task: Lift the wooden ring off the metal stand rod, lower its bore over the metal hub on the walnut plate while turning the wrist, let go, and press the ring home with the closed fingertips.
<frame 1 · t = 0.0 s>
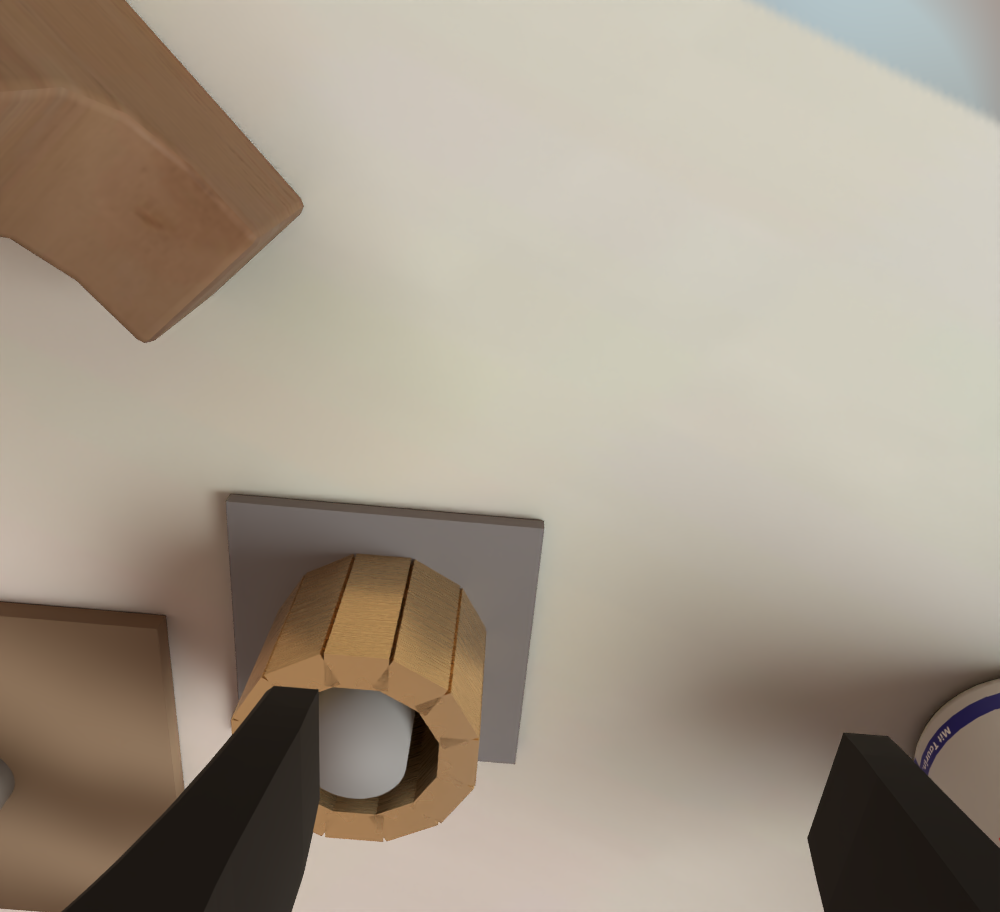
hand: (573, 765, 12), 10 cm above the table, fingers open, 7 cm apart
wooden block: (148, 130, 18), on the table
wooden ring: (381, 643, 23), resting on stand rod
stand rod: (383, 633, 23), on the table
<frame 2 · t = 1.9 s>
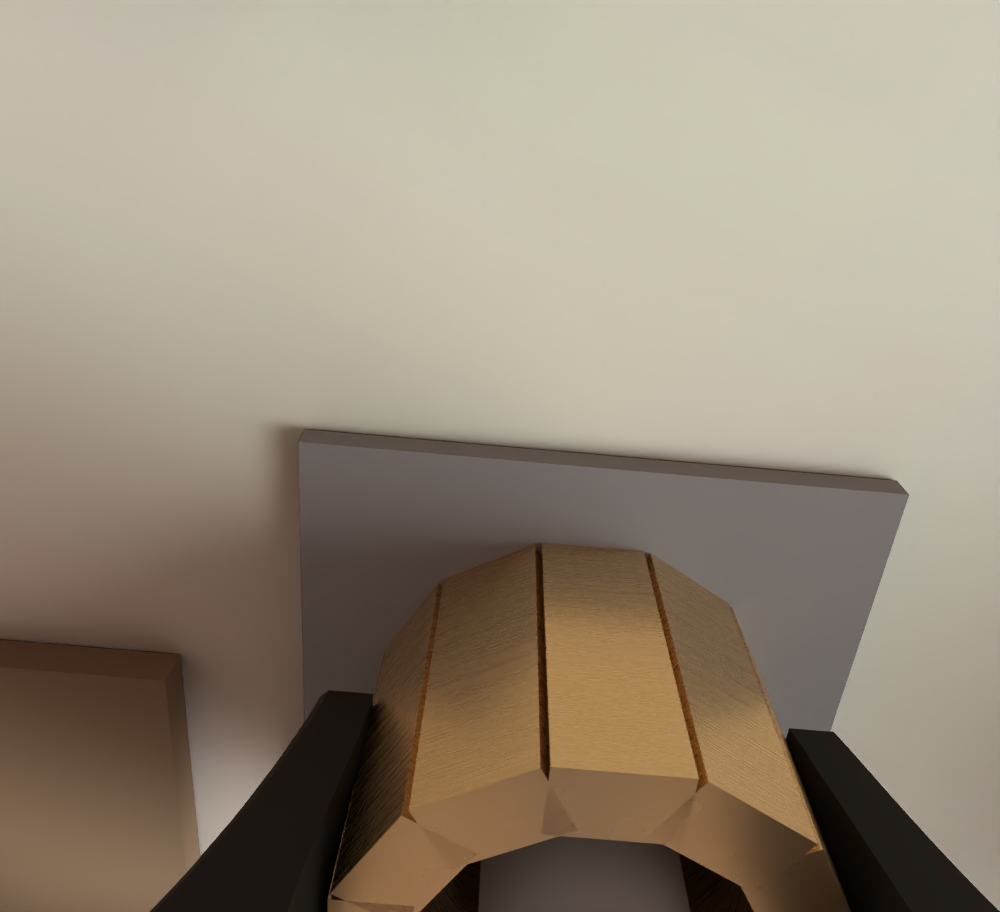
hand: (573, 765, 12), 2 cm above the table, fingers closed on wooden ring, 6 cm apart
wooden ring: (568, 704, 13), resting on stand rod, touching gripper
stand rod: (567, 686, 13), on the table
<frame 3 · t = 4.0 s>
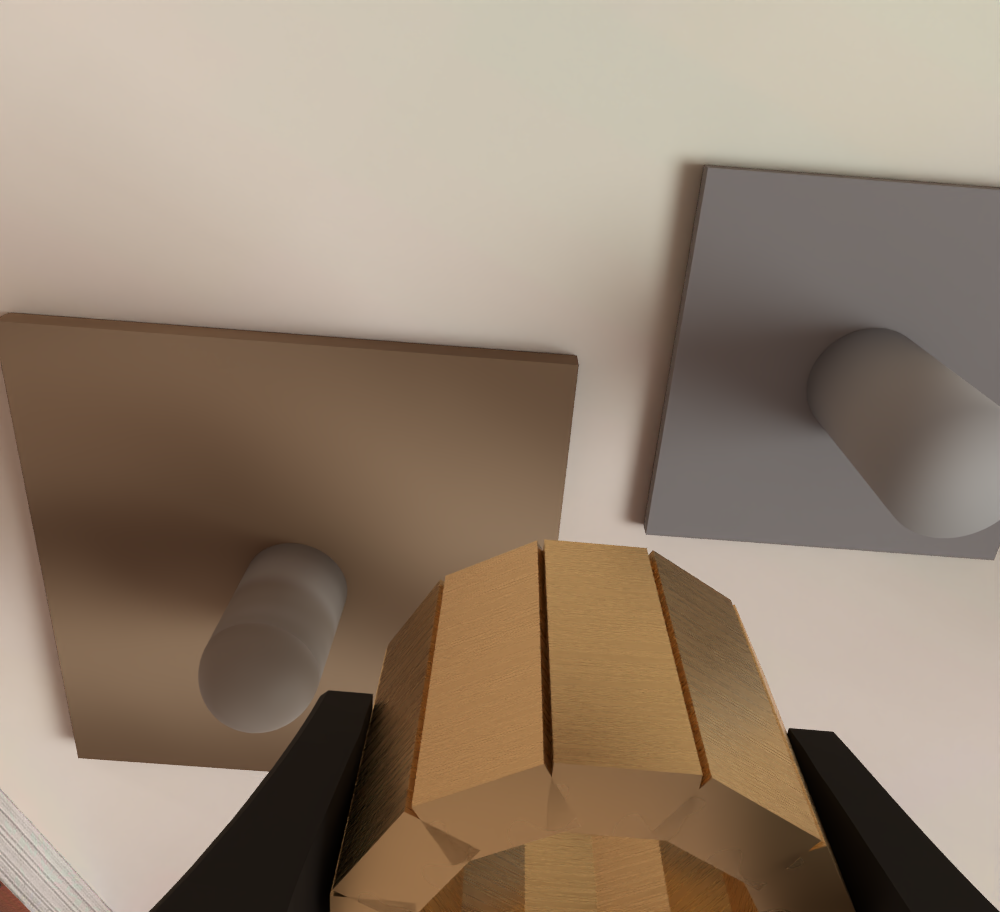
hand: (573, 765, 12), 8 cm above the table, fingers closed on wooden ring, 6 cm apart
wooden ring: (570, 702, 13), point 7 cm above the table, touching gripper
stand rod: (858, 376, 18), on the table
hub plate: (302, 572, 20), on the table
when the fingers open (3 cm above the table, at t = 6.2 s): wooden ring drops 2 cm, resting on hub plate.
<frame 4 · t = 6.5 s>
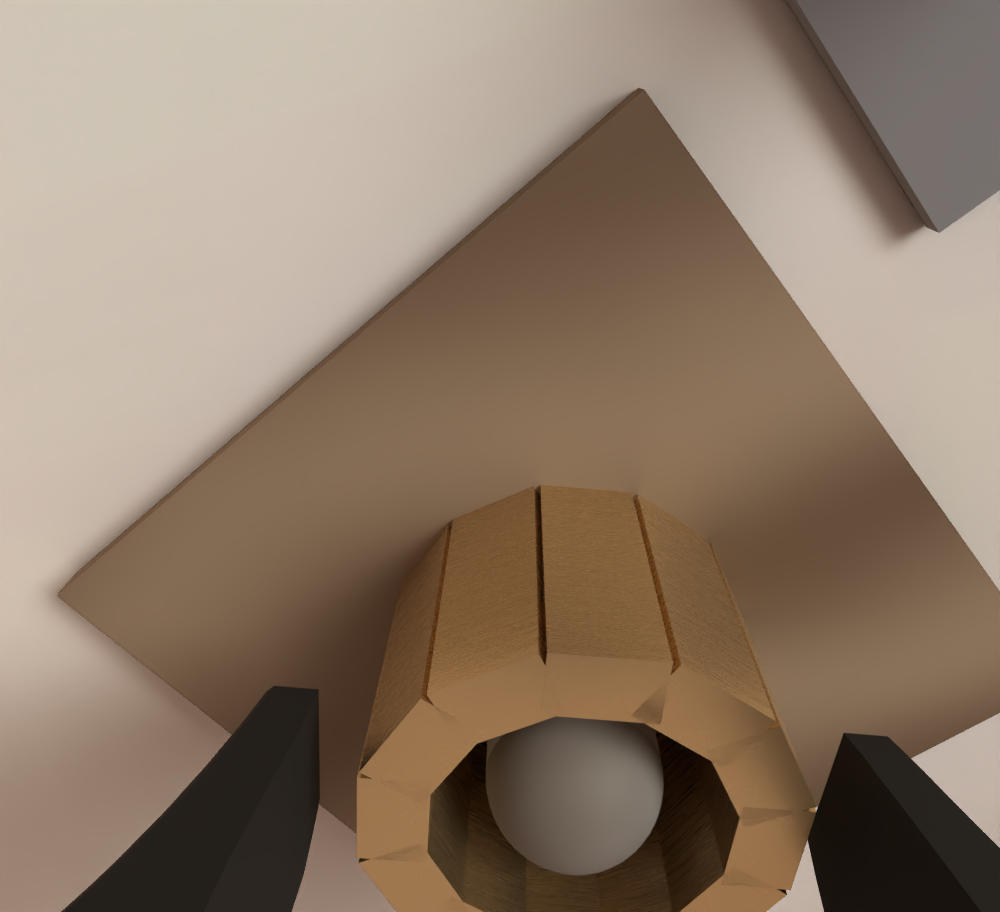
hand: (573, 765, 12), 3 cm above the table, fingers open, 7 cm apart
wooden ring: (565, 635, 14), point 1 cm above the table, touching hub plate
hub plate: (562, 616, 15), on the table
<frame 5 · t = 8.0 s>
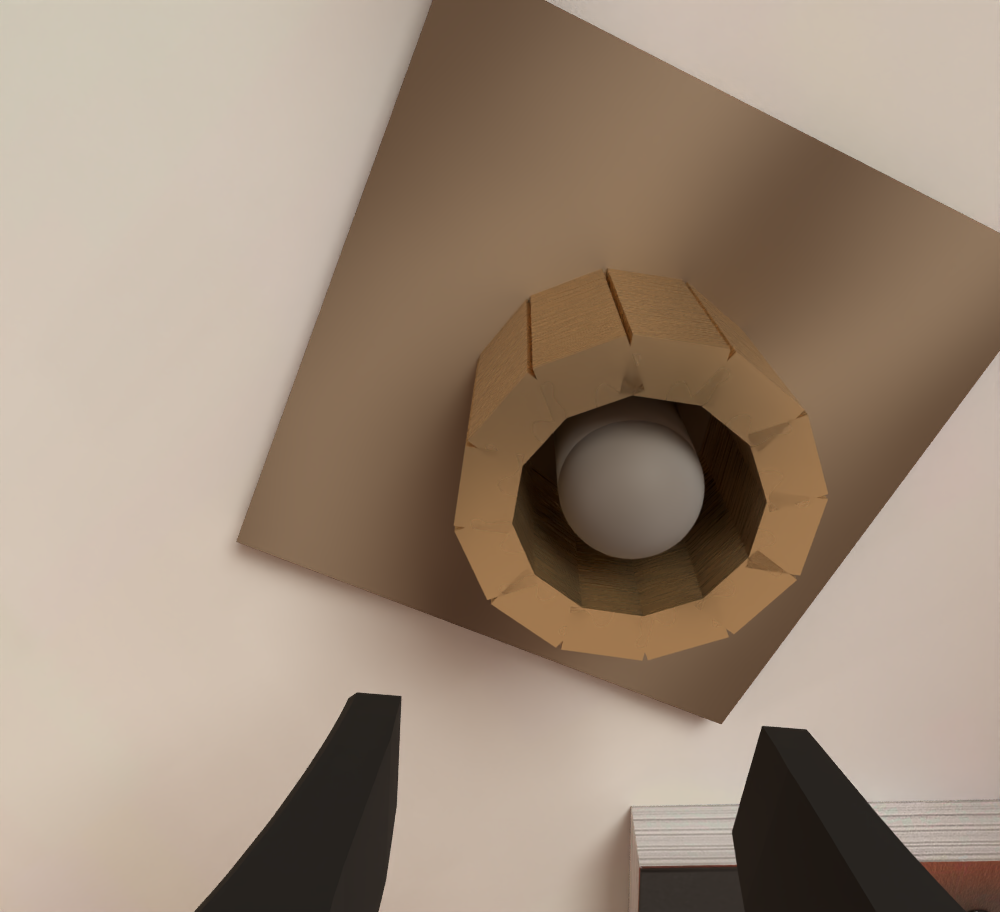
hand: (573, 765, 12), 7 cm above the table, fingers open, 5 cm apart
wooden ring: (613, 413, 17), point 1 cm above the table, touching hub plate
hub plate: (610, 404, 17), on the table
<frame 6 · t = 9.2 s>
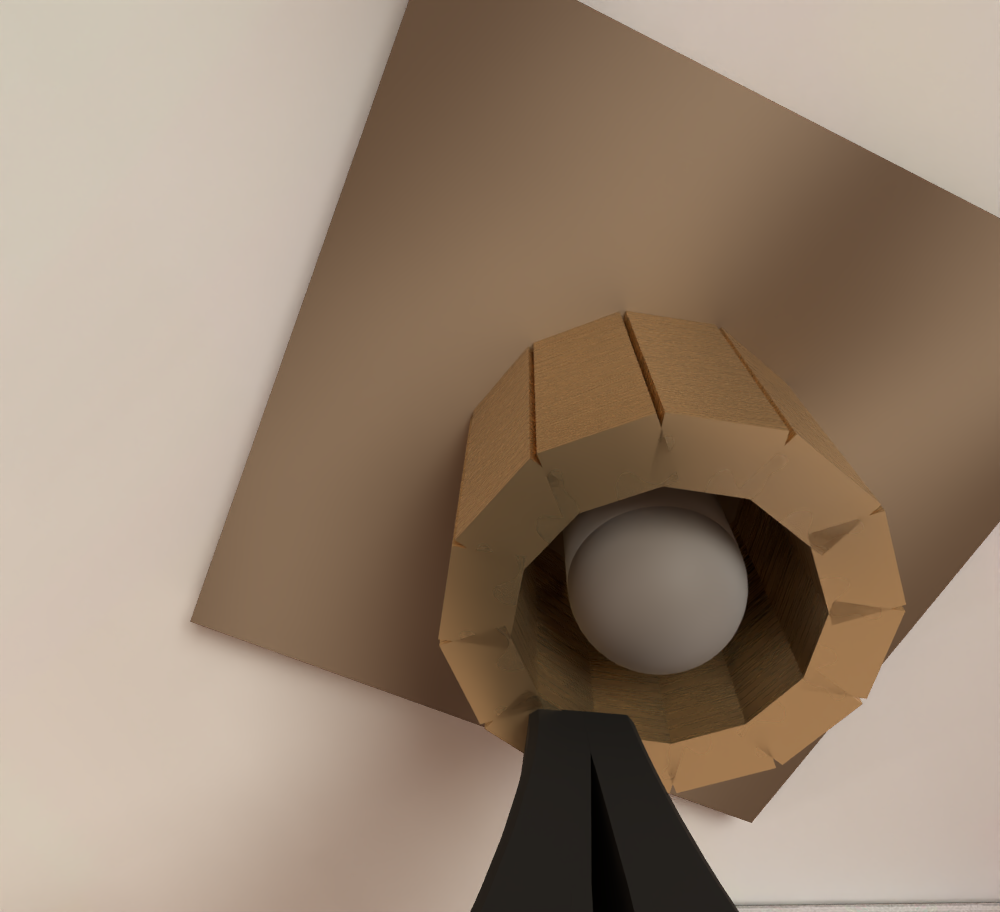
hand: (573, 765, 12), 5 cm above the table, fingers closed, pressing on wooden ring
wooden ring: (631, 478, 14), point 1 cm above the table, touching gripper, hub plate
hub plate: (626, 465, 15), on the table
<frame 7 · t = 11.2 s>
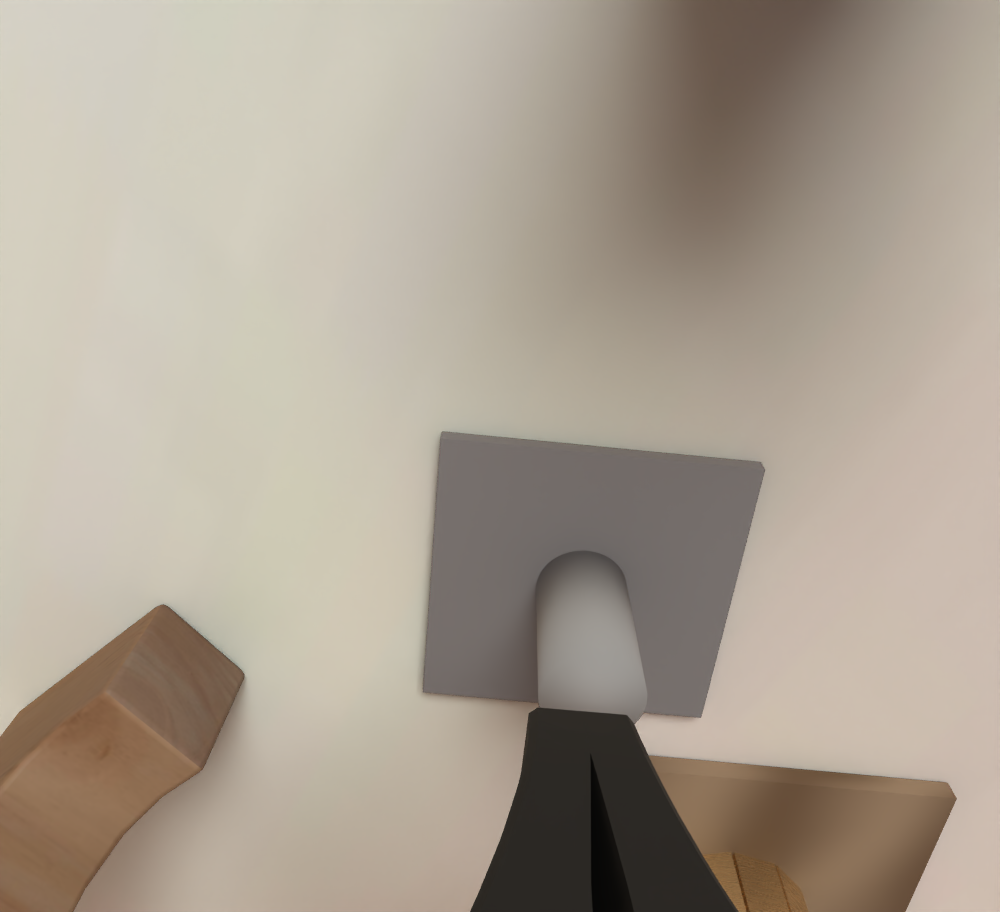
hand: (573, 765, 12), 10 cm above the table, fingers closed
wooden block: (135, 686, 25), on the table
stand rod: (580, 580, 23), on the table
hub plate: (711, 898, 28), on the table
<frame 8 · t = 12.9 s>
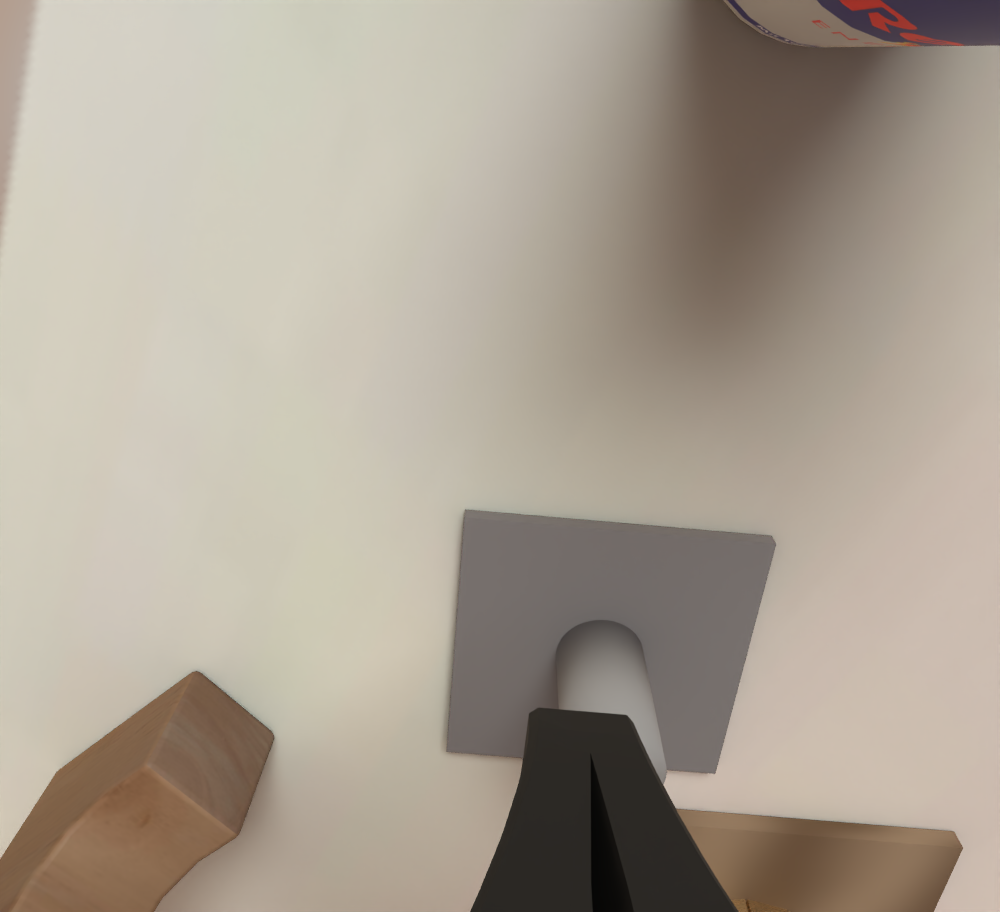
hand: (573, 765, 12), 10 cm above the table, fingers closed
wooden block: (168, 746, 26), on the table
stand rod: (598, 646, 24), on the table
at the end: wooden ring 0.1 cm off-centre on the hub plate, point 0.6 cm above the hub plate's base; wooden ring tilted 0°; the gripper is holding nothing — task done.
